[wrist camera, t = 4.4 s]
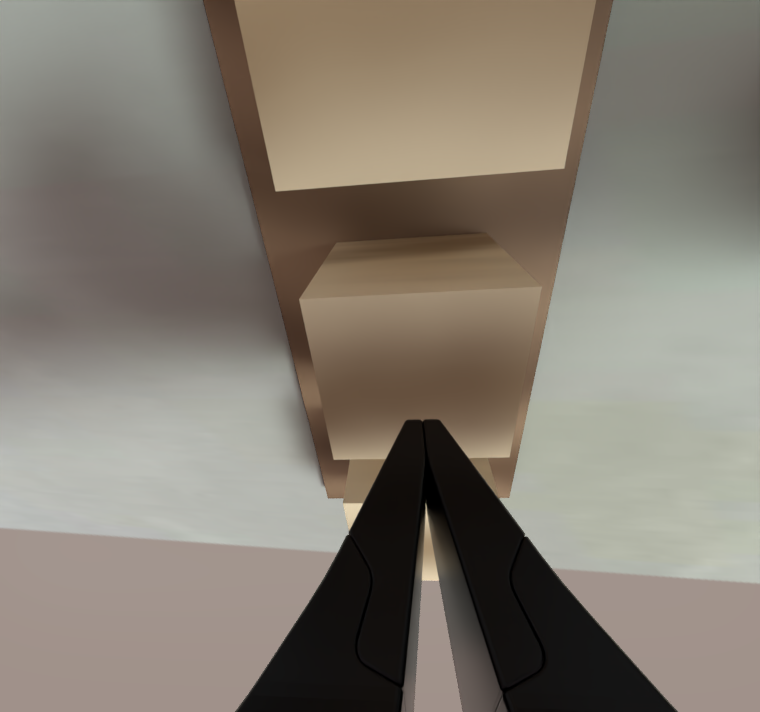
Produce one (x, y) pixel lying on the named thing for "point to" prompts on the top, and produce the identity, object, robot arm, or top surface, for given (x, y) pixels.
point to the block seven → (413, 86)
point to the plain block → (420, 341)
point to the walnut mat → (399, 222)
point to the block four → (361, 483)
